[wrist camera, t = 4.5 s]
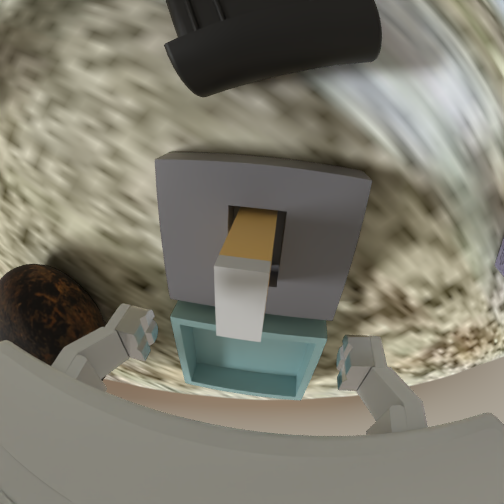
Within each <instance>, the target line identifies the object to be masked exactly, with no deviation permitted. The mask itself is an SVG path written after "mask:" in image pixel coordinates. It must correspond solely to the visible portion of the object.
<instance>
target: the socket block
mask: <svg viewBox="0 0 504 504" xmlns="http://www.w3.org/2000/svg"><path fill="white" fill-rule="evenodd" d="M155 171H156V187H157V200H158V211H159V221H160V231H161V239H162V247H163V255H164V263H165V270H166V276H167V283H168V289H169V295H170V299H175V300H180V301H186V302H192V303H197V304H203V305H209V306H215V287H214V265H215V262H216V260H217V258H218V256H219V253H220V251H221V249H222V247H223V244H224V242H225V240H226V238H227V236H228V233H229V231H230V229H231V227H232V224H233V222H234V220H235V218H236V216H237V214H238V211H239V209H240V207H251V208H260V209H269V210H278V213H277V222H276V231H275V240H274V248H273V257H272V265H271V273H270V280H269V287H268V294H267V302H266V309H265V314H273V315H281V316H290V317H299V318H308V319H318V320H329V321H333V318H334V315H335V312H336V309H337V306H338V304H339V301H340V298H341V295H342V292H343V289H344V285H345V282H346V279H347V276H348V273H349V269H350V266H351V263H352V259H353V256H354V253H355V249H356V245H357V242H358V238H359V234H360V231H361V227H362V223H363V219H364V215H365V211H366V206H367V202H368V198H369V193H370V189H371V184H372V180H371V179H370V178H369V177H368V176H367V175H366V174H365V173H364V172H363V171H361V170H356V169H351V168H345V167H339V166H333V165H327V164H320V163H314V162H306V161H299V160H291V159H282V158H273V157H263V156H251V155H238V154H222V153H199V152H169V153H167V154H165V155H163V156H161V157H159V158H157V159H155Z"/></svg>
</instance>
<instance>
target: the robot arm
mask: <svg viewBox="0 0 504 504" xmlns="http://www.w3.org/2000/svg"><path fill="white" fill-rule="evenodd" d="M153 318H154V313H153V311H152V310H149V309H145V308H141V307H137V306H133V305H129V304H124V303H122V304H121V305H120V306H119V307H118V308H117V310H116V311H115V313H114V314H113V316H112V317H111V319H110V320H109V321H108V323H107V324H106V326H105V327H100V328H99V329H97V330H95V331H93V332H91V333H89V334H87V335H86V336H84V337H82V338H80V339H78V340H76V341H74V342H72V343H71V344H69V345H67V346H65V347H64V348H63V349H62V351H61V352H60V354H59V355H58V357H57V358H56V360H55V361H54V363H53V364H52V366H50V365H48V364H46V363H44V362H43V361H41V360H39V359H37V358H36V357H34V356H32V355H31V354H29V353H27V352H26V351H24V350H23V349H21V348H19V347H18V346H16V345H15V344H13V343H12V342H10V341H8V340H4V341H1V342H0V504H504V424H503V423H502V422H501V421H500V420H499V419H498V418H497V417H496V416H494V415H493V414H492V413H483V414H480V415H477V416H473V417H470V418H466V419H463V420H459V421H455V422H451V423H446V424H442V425H437V426H432V427H427V421H426V416H425V411H424V406H423V402H422V400H421V399H420V398H419V397H418V396H417V395H416V394H415V393H414V392H413V391H412V390H411V388H410V387H409V386H408V385H407V384H406V383H405V382H404V381H403V380H402V379H401V378H400V377H399V376H398V375H397V373H396V372H395V371H394V370H393V369H392V368H391V367H387V363H386V358H385V354H384V349H383V345H382V341H381V338H380V336H363V335H345V336H344V338H343V346H341V347H340V348H339V351H338V354H337V363H336V364H337V369H338V370H339V374H338V376H337V382H338V390H348V391H357V393H358V395H359V396H360V398H361V399H362V401H363V402H364V404H365V405H366V407H367V408H368V410H369V411H370V413H371V414H372V416H373V417H374V419H375V420H376V422H375V424H373V425H372V426H371V427H370V428H369V429H368V430H367V431H366V432H367V433H366V435H356V436H303V435H287V434H275V433H266V432H257V431H250V430H242V429H236V428H229V427H224V426H219V425H214V424H209V423H204V422H200V421H195V420H191V419H187V418H183V417H179V416H175V415H172V414H168V413H164V412H161V411H158V410H155V409H151V408H148V407H145V406H142V405H139V404H136V403H133V402H130V401H128V400H125V399H122V398H119V397H117V396H114V395H112V394H109V393H107V392H106V390H107V388H106V386H105V384H104V383H103V382H102V380H101V379H102V378H103V377H105V376H106V375H107V374H109V373H110V372H111V371H113V370H114V369H115V368H117V367H118V366H119V365H121V364H122V363H123V362H125V361H126V360H127V359H129V357H131V358H134V359H138V360H142V361H146V359H147V357H148V355H149V353H150V351H151V349H150V345H151V344H153V343H155V340H156V338H157V334H158V326H157V323H156V322H155V321H154V320H153Z"/></svg>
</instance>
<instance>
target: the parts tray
mask: <svg viewBox="0 0 504 504" xmlns="http://www.w3.org/2000/svg"><path fill="white" fill-rule="evenodd" d="M170 319H171V323H172V328H173V333H174V338H175V342H176V346H177V351H178V355H179V359H180V363H181V367H182V371H183V375H184V379H185V383H187V384H192V385H196V386H201V387H206V388H211V389H216V390H222V391H227V392H233V393H240V394H246V395H253V396H261V397H269V398H279V399H290V400H301V399H302V397H303V395H304V393H305V390H306V388H307V386H308V384H309V382H310V379H311V377H312V375H313V373H314V370H315V368H316V366H317V363H318V361H319V358H320V356H321V354H322V351H323V349H324V346H325V344H326V341H327V327H326V320H318V319H308V318H299V317H290V316H281V315H273V314H265V315H264V322H263V329H262V336H261V342H255V341H248V340H241V339H234V338H228V337H222V336H216V314H215V306H209V305H203V304H197V303H192V302H186V301H180V300H178V302H177V304H176V306H175V308H174V310H173V312H172V314H171V316H170Z"/></svg>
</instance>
